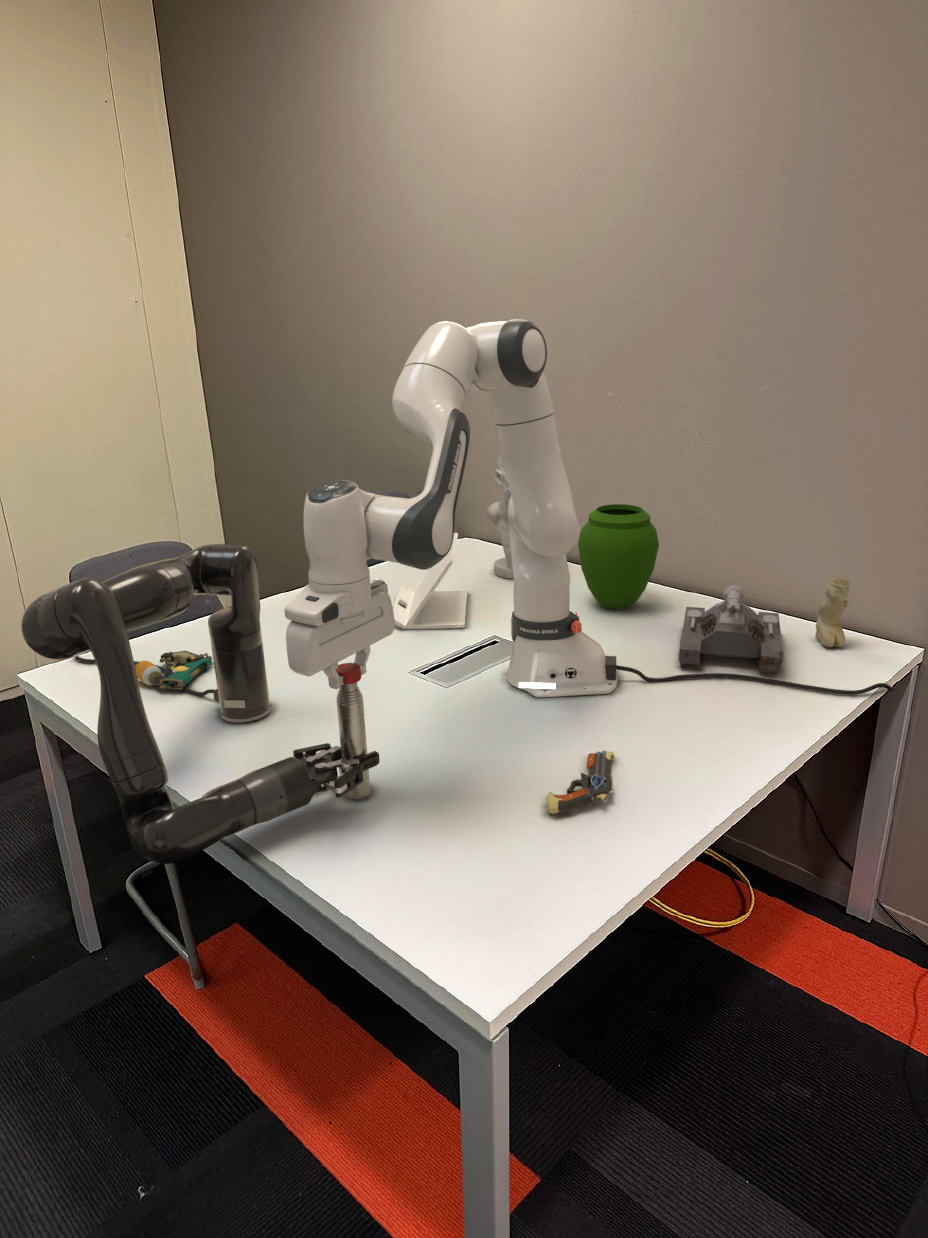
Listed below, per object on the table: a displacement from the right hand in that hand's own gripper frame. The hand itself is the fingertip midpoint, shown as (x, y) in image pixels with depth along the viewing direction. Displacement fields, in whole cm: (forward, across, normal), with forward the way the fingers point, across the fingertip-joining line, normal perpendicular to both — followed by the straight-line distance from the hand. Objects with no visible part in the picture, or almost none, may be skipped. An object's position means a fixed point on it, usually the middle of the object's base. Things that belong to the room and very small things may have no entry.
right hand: (348, 680), depth 129 cm
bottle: (+20, 0, 0) cm, 20 cm away
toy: (+20, -85, +32) cm, 93 cm away
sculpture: (+20, -100, +49) cm, 114 cm away
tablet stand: (+20, -74, -39) cm, 86 cm away
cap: (-2, 0, 0) cm, 2 cm away
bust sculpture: (+20, -111, -33) cm, 117 cm away
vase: (+20, -101, -1) cm, 103 cm away
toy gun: (+20, -20, +30) cm, 41 cm away
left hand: (+13, -3, +1) cm, 14 cm away
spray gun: (+20, -15, -63) cm, 67 cm away
